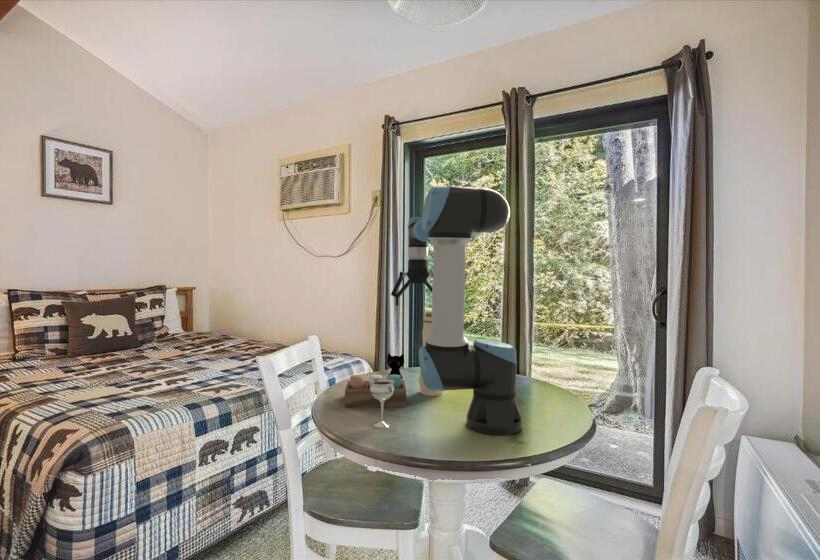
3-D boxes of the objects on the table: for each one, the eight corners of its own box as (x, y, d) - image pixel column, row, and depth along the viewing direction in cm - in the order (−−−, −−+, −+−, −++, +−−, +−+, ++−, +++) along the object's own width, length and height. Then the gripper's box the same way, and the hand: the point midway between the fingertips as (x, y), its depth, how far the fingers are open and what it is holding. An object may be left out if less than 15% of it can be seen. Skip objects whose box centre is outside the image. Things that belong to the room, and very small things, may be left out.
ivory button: (382, 394, 137) (382, 378, 137) (368, 394, 136) (369, 378, 136) (382, 390, 141) (382, 374, 141) (369, 390, 141) (369, 374, 141)
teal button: (401, 393, 137) (401, 377, 137) (387, 394, 137) (387, 378, 137) (400, 390, 142) (400, 374, 141) (387, 390, 141) (387, 374, 141)
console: (405, 406, 134) (406, 390, 133) (344, 407, 132) (344, 391, 132) (403, 394, 146) (404, 380, 145) (347, 395, 144) (348, 380, 144)
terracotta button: (363, 394, 136) (363, 378, 136) (350, 394, 136) (350, 378, 136) (364, 390, 141) (364, 374, 141) (351, 390, 140) (351, 374, 140)
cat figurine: (383, 387, 155) (384, 354, 154) (388, 382, 161) (388, 350, 161) (403, 388, 153) (403, 355, 153) (406, 383, 160) (406, 351, 160)
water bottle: (448, 389, 152) (449, 311, 151) (448, 397, 143) (449, 314, 142) (420, 388, 153) (420, 311, 152) (418, 396, 144) (418, 313, 143)
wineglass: (377, 430, 113) (377, 386, 113) (365, 422, 119) (365, 380, 119) (398, 425, 117) (399, 382, 117) (386, 418, 123) (386, 377, 122)
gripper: (452, 259, 161) (451, 315, 162) (388, 259, 166) (388, 313, 167) (449, 258, 154) (449, 317, 154) (383, 258, 159) (383, 315, 160)
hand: (417, 315), depth 161 cm, fingers open, 13 cm apart
